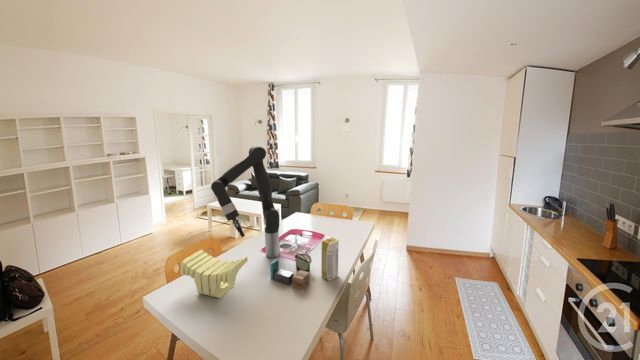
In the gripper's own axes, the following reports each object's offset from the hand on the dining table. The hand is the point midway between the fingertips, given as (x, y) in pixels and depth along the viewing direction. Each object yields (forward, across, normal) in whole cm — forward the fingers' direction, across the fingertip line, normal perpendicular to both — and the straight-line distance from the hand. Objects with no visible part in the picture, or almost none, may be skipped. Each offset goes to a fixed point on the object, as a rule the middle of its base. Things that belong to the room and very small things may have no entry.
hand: (243, 236), depth 165 cm
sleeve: (+31, -17, -9) cm, 36 cm away
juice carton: (+42, -21, -33) cm, 57 cm away
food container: (+35, -10, -23) cm, 43 cm away
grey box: (+32, -19, -11) cm, 38 cm away
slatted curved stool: (+17, -14, +24) cm, 33 cm away
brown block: (+36, -25, -16) cm, 46 cm away
